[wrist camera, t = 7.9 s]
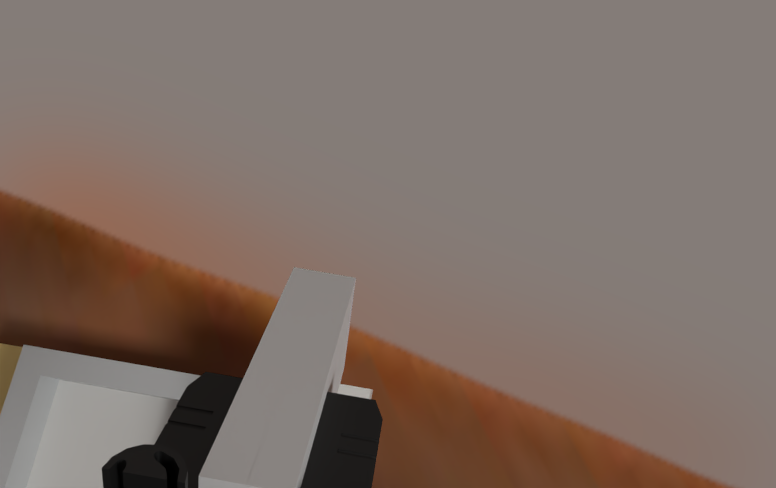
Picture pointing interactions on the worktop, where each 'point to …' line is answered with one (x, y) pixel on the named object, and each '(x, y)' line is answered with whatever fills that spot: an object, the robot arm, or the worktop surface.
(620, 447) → the worktop surface
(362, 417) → the robot arm
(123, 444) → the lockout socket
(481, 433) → the worktop surface
